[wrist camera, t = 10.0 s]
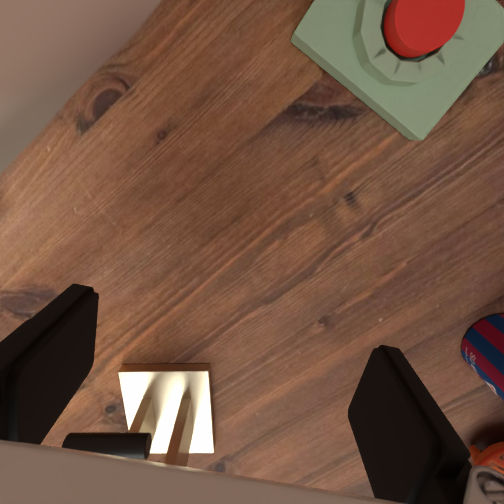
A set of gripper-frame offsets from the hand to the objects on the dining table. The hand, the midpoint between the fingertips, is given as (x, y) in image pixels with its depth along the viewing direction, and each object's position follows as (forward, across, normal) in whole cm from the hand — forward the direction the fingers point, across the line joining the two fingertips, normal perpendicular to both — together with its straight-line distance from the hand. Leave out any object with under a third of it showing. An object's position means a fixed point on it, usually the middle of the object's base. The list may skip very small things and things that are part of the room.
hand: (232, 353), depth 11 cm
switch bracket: (+19, +3, +22) cm, 29 cm away
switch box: (+19, -8, -16) cm, 26 cm away
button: (+15, -8, -16) cm, 23 cm away
